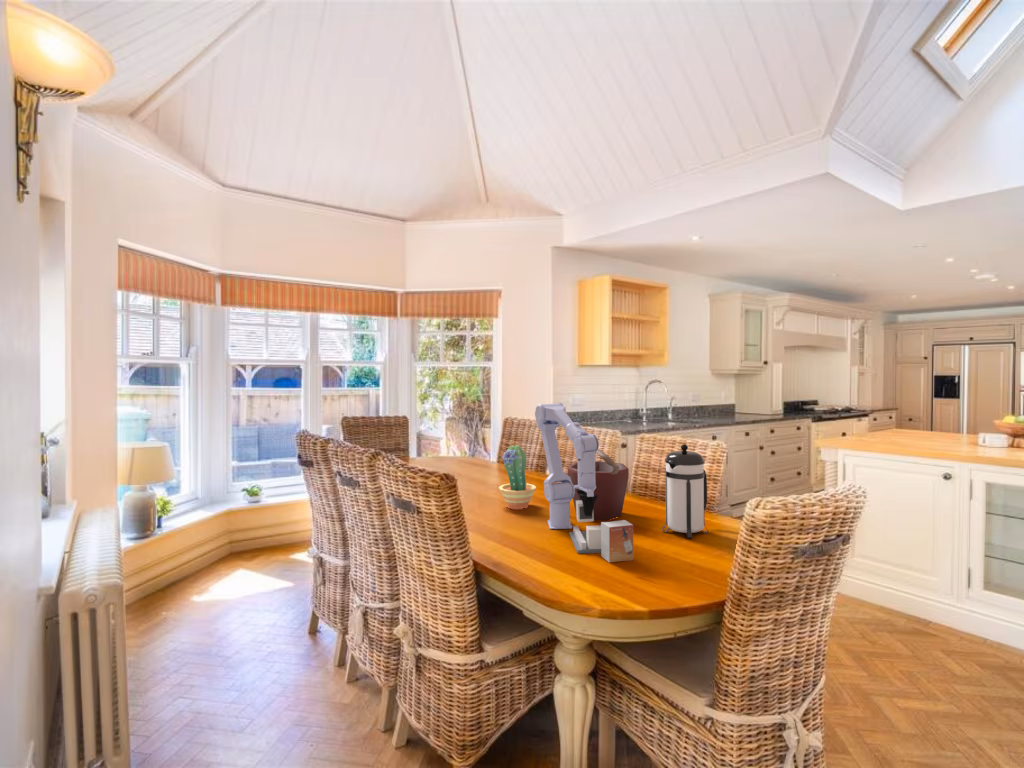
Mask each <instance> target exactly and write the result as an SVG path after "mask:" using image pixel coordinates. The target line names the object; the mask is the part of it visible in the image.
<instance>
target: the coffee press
mask: <svg viewBox="0 0 1024 768" xmlns="http://www.w3.org/2000/svg"><path fill="white" fill-rule="evenodd" d="M680 449H681V450H673V451H671V452H669V453H667V455H666V457H665V458H664V462H665V472H664V473H665V477H664V478H665V480H664V481H665V484H664V485H665V487H664V488H665V524H664V526H663V527H662V529H661V531H663V533H664V531H666V533H668V531H670V530H672V531H675V532H678V533H685V534H686V539H687V540H692V539H693V534H692V533H698V532H699V533H700V531H702V533H704V534H709V530H708V528H707V527H706V523H705V521H706V520H705V517H706V516H705V510H706V508H707V503H708V478H707V473H706V470H705V469H704V466H705V459H704V458H703V457H704V456H703V455H701V454H700V453H698V452H695V451H691V450H689V451H688V449H689V447H688V445H687V444H685V443H684V444H683V443H682V445H681V446H680ZM666 527H668V528H667V529H666V530H665V528H666ZM704 528H705V529H706V531H704V530H703V529H704ZM705 532H706V533H705Z"/></svg>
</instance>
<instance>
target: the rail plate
mask: <svg viewBox="0 0 1024 768" xmlns="http://www.w3.org/2000/svg"><path fill="white" fill-rule="evenodd" d="M572 527H573V528H572V529H573V530H572V531H569V537H570V539H571V541H572V544H573V546H574V548H575V551H576V552H577V554H601V524H600V525H586V527H585V528H586V530H585V531H582V530H580V528H579V525H576V526H575V525H572Z"/></svg>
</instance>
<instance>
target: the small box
mask: <svg viewBox="0 0 1024 768" xmlns="http://www.w3.org/2000/svg"><path fill="white" fill-rule="evenodd" d="M600 525H601V553H600V555H601V556H600V557H602V559H604V560H606V561H607V562H608V563H615V562H616V563H617V562H627V561H633V560H634V525H633V523H630V522H629V521H627V520H626V519H622V520H613V521H600Z"/></svg>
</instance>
